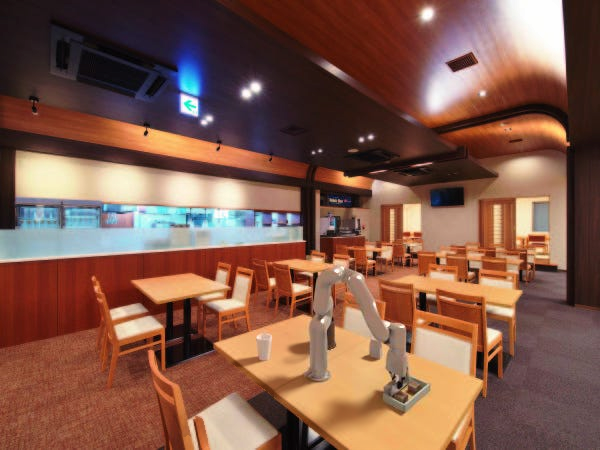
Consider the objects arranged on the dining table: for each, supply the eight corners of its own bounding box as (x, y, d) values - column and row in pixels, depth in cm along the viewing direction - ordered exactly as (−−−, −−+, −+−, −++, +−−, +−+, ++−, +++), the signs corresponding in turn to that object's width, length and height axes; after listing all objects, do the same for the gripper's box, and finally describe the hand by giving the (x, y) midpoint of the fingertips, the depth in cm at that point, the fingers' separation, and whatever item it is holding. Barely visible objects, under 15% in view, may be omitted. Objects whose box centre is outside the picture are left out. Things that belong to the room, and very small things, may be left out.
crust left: (402, 405, 123) (402, 398, 123) (394, 401, 126) (394, 394, 126) (408, 400, 126) (408, 394, 126) (400, 396, 129) (400, 390, 129)
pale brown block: (379, 359, 165) (380, 342, 165) (369, 356, 169) (369, 340, 169) (382, 357, 168) (382, 340, 168) (371, 353, 172) (371, 338, 172)
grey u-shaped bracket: (404, 415, 117) (404, 405, 117) (382, 402, 126) (382, 394, 126) (430, 392, 134) (430, 383, 134) (409, 382, 142) (409, 374, 142)
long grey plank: (388, 399, 126) (388, 388, 126) (383, 397, 128) (383, 386, 128) (409, 382, 139) (409, 372, 139) (405, 380, 141) (405, 370, 141)
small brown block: (415, 394, 131) (415, 388, 131) (407, 390, 134) (407, 384, 134) (420, 390, 134) (420, 384, 134) (412, 386, 137) (412, 380, 137)
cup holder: (336, 339, 193) (336, 304, 193) (337, 355, 169) (337, 315, 169) (310, 338, 195) (310, 303, 195) (307, 354, 171) (307, 314, 171)
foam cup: (272, 354, 170) (272, 333, 170) (271, 361, 161) (271, 339, 161) (257, 354, 170) (257, 333, 170) (255, 362, 161) (255, 340, 161)
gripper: (379, 345, 137) (378, 382, 137) (409, 358, 125) (409, 397, 125) (387, 341, 142) (386, 377, 142) (417, 353, 130) (416, 391, 130)
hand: (397, 386), depth 134 cm, fingers closed on long grey plank, 2 cm apart
